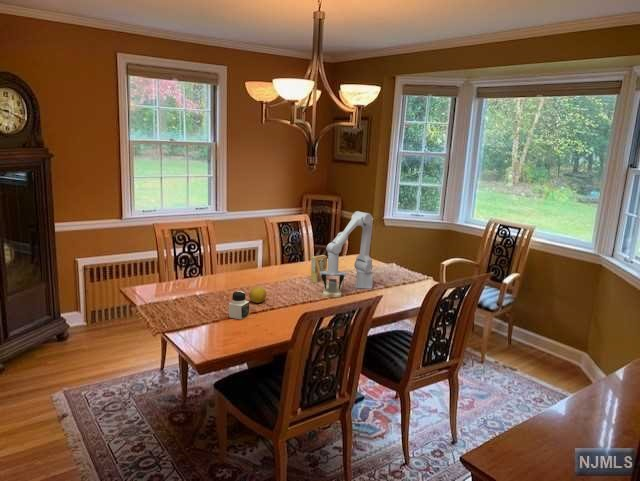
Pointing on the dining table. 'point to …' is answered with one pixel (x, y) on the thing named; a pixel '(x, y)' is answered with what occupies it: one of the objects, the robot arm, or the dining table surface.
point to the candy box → (318, 267)
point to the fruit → (257, 294)
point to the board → (338, 293)
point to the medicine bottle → (238, 306)
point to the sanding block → (332, 286)
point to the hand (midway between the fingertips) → (332, 288)
